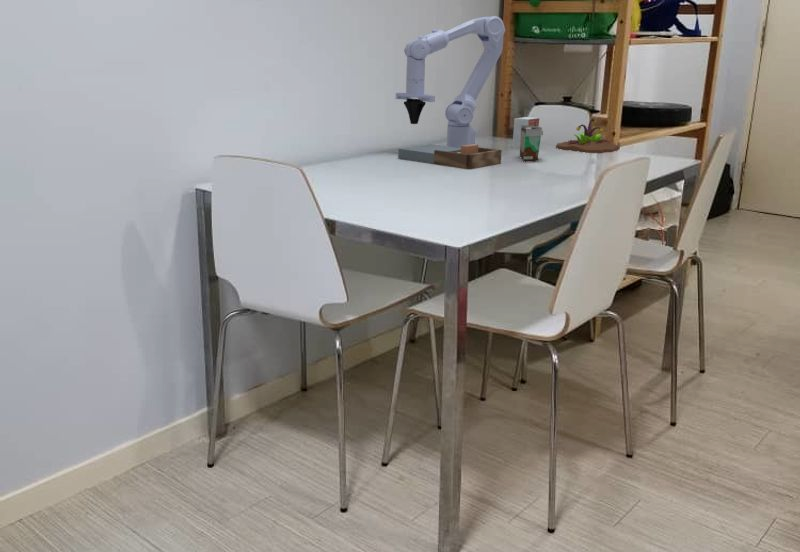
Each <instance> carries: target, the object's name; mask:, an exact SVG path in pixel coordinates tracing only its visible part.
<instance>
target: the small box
mask: <svg viewBox="0 0 800 552" xmlns="http://www.w3.org/2000/svg"><path fill="white" fill-rule="evenodd" d="M521 125H528V126H538V127H540V118H539V117H531V116H524V117H518V118H516V117H515V118H514V121H513V133H512V149H518V148H520V140H521Z"/></svg>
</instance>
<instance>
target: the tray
mask: <svg viewBox="0 0 800 552" xmlns="http://www.w3.org/2000/svg"><path fill="white" fill-rule="evenodd" d="M501 163H502V149H496V148H489V147H481V146H480V147H479V146H478V153H474V154H463V153H456V152H449V151H441V150H434V164H435V165H440V166H447V167H453V168H460V169H464V170H465V169H467V170H473V169H479V168H482V167H488V166H493V165H500V164H501ZM434 164H433V165H434Z"/></svg>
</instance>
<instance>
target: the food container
mask: <svg viewBox="0 0 800 552" xmlns="http://www.w3.org/2000/svg"><path fill="white" fill-rule="evenodd" d="M542 136H544V130H543V127H541V126H539V127H538V126H528V125H521V140H520V149H519V158H520V157H521V158H520V160H521V159H522V160H523V161H522V160H521V161H522V162H523V163H527V162H526V161H533V162H537V161H538V160H539V153H540V144H541V138H542ZM536 160H537V161H536ZM524 161H525V162H524Z"/></svg>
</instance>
